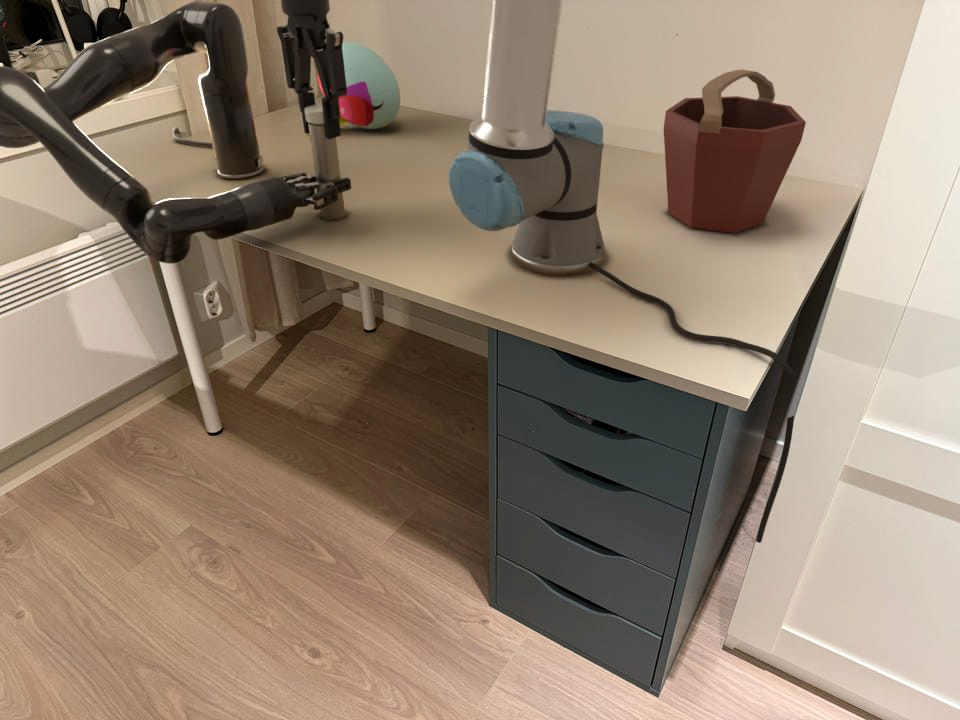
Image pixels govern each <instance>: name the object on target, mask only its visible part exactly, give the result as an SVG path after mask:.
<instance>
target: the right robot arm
mask: <svg viewBox="0 0 960 720" xmlns="http://www.w3.org/2000/svg"><path fill="white" fill-rule="evenodd" d="M563 2H564V0H491V4H490V5H491V6H490V18H489V28H488V40H487V49H486V50H487V51H486V60H485V61H486V62H485V63H486V64H485V72H484V83H483V84H484V85H483V98H482V109H481V111H482V114H481V113H480V115H478V116H477V117H476V118H475V119H473V121H471V122H470V124H469V129H468V139H467V140H468V141H467V150H465V151H462V152H460V153H459V155H457V156H456V158H455V159H453V161H452V162H451V164H450V167H449V172H448V184H449V190H450V193H451V196H452V199H453V201H454V203H455V204H456V206H457V207H458V208H459V210H460V212H461V214H462V215H463V216H464V218H465V219H466V220H468V221H469V222H470V223H471V224H472V225H473V226H475V227H477V228H479V229H481V230H483V231H487V232H499V231H502V230H506V229H508V228H514V227H516V226H517V229H516V232H515V234H514V237H513V240H512V243H511V244H512V245H511V257H512V259H513V261H514V262H515V263H516V264H517V265H519V267H521V268H524V269H526V270H528V271H530V272H532V273H533V272H534V273H537V274H541V275H547V276H558V277H559V276H560V277H561V276H573V275H574V276H575V275H580V274H584V273H588V272H590V271H593V270H594V271H596V272H597V273H598V274H600V275H602V276H604V277H605V278H607V279H609V280H610V281H612V282H613V283H615V284H616V285H618V286H619V287H620V288H622V289H624V290H625V291H627V292H629V293H631V294H632V295H635V296H637V297H639V298H642V299H645V300H648V301H650V302H652V303H656V304H657V305H659V306H661V307H662V308H663V309H664V310H665V311H666V312H667V313H668V316H669V321H670V324H671V326H672V328H673V330H674V331H676V332H677V333H678V334H680V335H682V336H684V337H686V338H689V339H693V340H697V341H703V342H711V343H722V344H729V345H733V346H736V347H739V348H743V349H745V350H748V351H752V352H756V353H760V354H762V355H764V356H767V357H769V358H771V359H772V360H774V361H775V362H776V363H777V364H778V365H779V366H780V367H781V368H782V370H783V371H784V373H785V374H786V376H787V377H788V378H790V379H796V374H795V373H794V371H793V369H792V368H791V366H790V365H789V363H788V362H787V361H786V360H785V359H784V358H783V357H782V356H781V355H779V354H778V353H776V351H775V352H774V351H773V350H771V349H769V348H765V347H763V346H760V345H756V344H752V343H750V342H745V341H742V340H741V339H736V338H732V337H728V336H719V335H718V336H717V335H708V334H707V335H706V334H699V333H695V332H692V331H689V330H686V329H685V328H683V327H682V326H681V325H679V322H678V321H677V318H676V313H675V310H674V309H673V307H672V306H671V304H669V303H668V302H667V301H665V300H663V299H661V298H659V297H657V296H655V295H652V294H649V293H646V292H644V291H642V290H639V289H636V288H634V287H632V286H631V285H628V284H627V283H626V282H624V281H623V280H622V279H620V278H618V277H617V276H615V275H613V274H612V273H611V272H609V271H607V270H606V269H604V268H602V267H601V266H600V265H601V264H602V263H603V261H604V258H605V249H606V247H605V242H604V239H603V233H602V230H601V226H600V222H599V218H598V213H597V212H598V199H599V188H600V179H601V171H602V170H601V169H602V161H603V160H602V159H603V148H604V147H605V143H604V126H603V123H602V122H601V121H600V120H599V119H598V118H596V117H594V116H591V115H589V114H585V113H584V114H583V113H580V112H574V111H566V110H553V109H549V110H548V105H549V98H550V93H551V86H552V79H553V73H554V72H553V71H554V65H555V64H554V63H555V58H556V52H557V43H558V37H559V31H560V23H561V17H562V10H563ZM280 4H281V12H282V13H283V14H284V15H286V16H287V22H286V24H285V25H280V26H277V27H276V32H277V36H278V38H279V41H280V45H281V46H280V47H281V52H282V59H283V66H284V73H285V80H286V86H287V88H288V89H289V90H291V89H292V90H294V92H295V94H296V95H297V101H298V106H299V111H300V112H301V116H302V124H303V130H304V134H307V135H308V134H309V135H310V133H309V126H308V123H309V122H307V121H306V118H305V108H306V107H308V106H311V105H317V104H316V97H315V92H314V91H313V90H314V88H313V87H312V86H311V75H312V74H311V71H312V70H311V69H312V59H313V60H314V61H313V62H314V64H315V68H316V72H317V76H318V75H319V79H320V82H321V86H322V89H323V92H324V95H323V97H321V104H322V107H323V115H324V122H325V130H326V138H327V139H332V138H335V137H336V138H338V137H342V133H341V126H340V123H339V118H340V108H339V97H341V96H344V95H346V94H347V86H346V77H345V69H344V60H343V51H342V44H343V42H344V34H343V32H342V31H335V30H333V29H331V27H330V23H329V21H328V19H327V15H328V13H329V12H330V11H331V7H330V0H280ZM330 90H331V92H330ZM312 91H313V92H312ZM324 96H325V97H324ZM794 423H795V415H792V416H789V417H787V418H786V427H785V433H784V434H785V435H784V442H783V446H782V452H781V456H780V460H779V464H778V467H777V471H776V475H775V478H774V480H773V484H772V487H771V489H770V490H771V491H770V492H769V495H768V498H767V502H766V505H765V507H764V511H763V514H762V516H761V520H760V523H759V527H758V530H757V535H756V538H755V542H756V543H759V544H760V543H762V541H763V538H764V533H765V531H766V528H767V524H768V521H769V517H770V514H771V511H772V509H773V506H774V503H775V500H776V497H777V495H778V491H779V488H780V485H781V482H782V480H783V477H784V473H785V469H786V465H787V461H788V458H789V453H790V449H791V444H792V439H793V430H794Z"/></svg>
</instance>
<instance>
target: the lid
mask: <svg viewBox="0 0 960 720" xmlns="http://www.w3.org/2000/svg"><path fill="white" fill-rule="evenodd" d="M305 118H306V121H307V122H309V123H314V124H322V123H325V122H324V115H323V107H322V103H320V104H318V103H317V104H316V105H311V106H308V107H306V108H305Z"/></svg>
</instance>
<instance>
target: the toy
mask: <svg viewBox="0 0 960 720" xmlns="http://www.w3.org/2000/svg"><path fill="white" fill-rule="evenodd" d="M342 51H343V60H344V69H345V77H346V86H347V94H346V95H344V96H341V97H339V108H340V118H339V123H340V127H342V126H345V125H347V124H351V125H353V126H356V127H358V128H361V129H366V130H378V129H382V128H384V127H386V126H388V125H390V124H391V123H392V122H393V121H394V120H395V118H396V117H397V115H398V113H399V111H400V107H401V91H400V86H399V84H398V80H397V78H396V76H395V74H394V72H393V71H392V69H391V67H390V66H389V65H388V64H387V62H386V61H385V60H384V59H383V58H382V57H381V56H380V55H379V54H378V53H376V52H375V51H374V50H372V49H370V48H369V47H367V46H365V45H362V44H360V43H357V42H353V41H352V42H351V41H343V44H342ZM317 81H318V85H319V88H320V91H321V93H322V95H323V97H325V96H324V92H323V89H322V86H321V82H320V79H319V75H318V74H317ZM330 92H331V90H330Z"/></svg>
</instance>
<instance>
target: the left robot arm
mask: <svg viewBox="0 0 960 720" xmlns="http://www.w3.org/2000/svg"><path fill="white" fill-rule="evenodd" d="M239 17H240V16H239V15H238V14H237V12H236V11H235V10H234V8H233V7H231V6H229V5H228V4H225V3H220V2H212V1H198V0H197V1H196V0H195V1H191V2H188V3H185V4H184V5H182V6H180V7H178V8H176V9H175V10H173V11H171V12H169V13H167V14H166V15H165V16H163V17H161V18H159V19H157V20H155V21H153V22H151V23H148V24H143V25H141V26H137V27H134V28H131V29H128V30H125V31H123V32H120V33H117V34H113V35H111V36H108V37H106V38H104V39H101V40H99V41H95V42H94V43H92V44H89V45H88V46H86V47H85V48H84V49H83V50H81V52H79V53H78V54H77V55H76V57H74V58H73V60H72V61H71V62H70V63H68V65H67V66H66V67H65V68H64V69H63V71H62V72H61V73H60V74H59V75H58V76H57V78H55V80H53V81H52V82H51V83H49V84H48V85H47V86H44V87H41V86H40V85H39V83H37V82H36V80H34V79H33V78H32V77H30V75H28V74H26V73H25V72H24V71H21V70H19V69H16V68H13V67H9V66H3V65H0V147H1V148H7V149H22V148H27V147H30V146H34V145H36V144H38V143H40V144H41V145H42V146H43V147H44V148H45V149H46V150H47V151H48V152H49V154H50V155H51V157H53V159H54V160H55V162H56V163H57V164H58V166H60V168H61V169H62V170H63V172H64V173H65V175H66V176H67V177H68V178H69V179H70V181H71V182H72V183H73V184H74V186H75V187H77V189H79V191H80V192H81V193H83V194H84V195H85V196H86V197H87V198H88V199H89V200H91V201H92V202H93V204H95V205H96V206H98V207H99V208H100V209H102V210H103V211H104V212H106V213H107V214H108V215H110V217H112V218H113V219H114V220H115V221H116V222H117V223H118V225H119V226H120V227H121V228H122V230H123V231H124V232H125V233H126V234H127V236H128V237H129V238H130V239H131V241H132V242H134V244H135V245H136V246H137V247H138V249H140V250H141V251H142V253H144V254H145V255H147V256H148V257H149V258H150V259H152V260H155V261H157V262H159V263H162V264H177V263H180V262H182V261H183V260H185V258H186V257H187V256H188V254H189V252H190V249H191V242H192V235H194V234H197V233H204V234H205V235H206V237H208V238H209V239H210V240H216V241H217V240H223V239H227V238H230V237H232V236H236V235H238V234H242V233H245V232H250V231H256V230H259V229H263V228H266V227H268V226H271V225H274V224H277V223H278V224H279V223H280V222H284V221H287V220H289V219H292V217H293V216H294V214H295V211H296V209H297V208H305V207H309V205H310V206H313V209H314V210H315V211H321V210H320V209H322V208H324V207H326V206H328V205H330V204H332V203H334V202H335V201H337V200H338V193H341V192H343V193H345V192H347V191H350V190H351V189H352V183H351V181H352V180H351V179H350V178H349V177H347V176H346V177H343V178H342V177H341V179H339V180H336V181H332V182H329V183H323V184H320V183H319V182H316V175H315V173H314V174H313V173H311V174H307V172H300V173H294V174H289V175H284V176H272V177H268V178H265V179H262V180H257V181H254V182H252V183H251V182H250V183H247V184H244V185H241V186H238V187H236V188H233V189H231V190H228V191H225V192H222V193H218V194H215V195H211V196H208V197H182V198H181V197H179V198H177V197H174V198H167V199H163V200H160V201H157V202H155V203H154V204H153V202H152V198H151V194H150V192H149V190H148V188H147V187H146V186H145V185H144V184H143V183H142V182H141V181H139V180H138V179H137V178H136V177H135V176H133V175H132V174H131V173H130V172H128V171H127V170H126V169H125V168H124V167H122V166H121V165H120V164H118V163H117V162H116V161H115V160H114V159H112V158H111V157H110V156H109V155H108V154H106V153H105V152H104V151H103V150H102V149H101V148H100V147H99V146H97V145H96V144H95V142H93V140H91V139H90V137H88V136H87V135H86V134H85V133H84V132H83V131H82V130H81V129H80V128H79V127H78V125H76V124H75V122H74V121H76V120H78V119H80V118H82V117H83V116H85V115H87V114H89V113H92V112H94V111H96V110H97V109H100V108H101V107H104V106H105V105H108V104H109V103H111V102H113V101H116V100H118V99H121V98H123V97H126V96H128V95H131V94H133V93H135V92H137V91H139V90H141V89H144V88H145V87H147V86H149V85H150V84H151V83H153V82H155V80H157V79H158V77H160V75H161V74H162V72H163V70H164V69H165V68H166V66H167V65H168V64H170V63H171V62H173V61H175V60H178V59H181V58H183V57H186V56H190V55H193V54H207V58H208V66H209V68H208V70H207V71H206V72H204V73H202V74H200V75H199V77H198V85H199V91H200V94H201V99H202V104H203V108H204V112H205V116H206V117H205V118H206V122H207V126H208V131H209V135H210V140H211V142H210V141H209V142H207V141H198V140H194V139H187V138H181V137H178V136H177V134H178V133H180V130H179V128H178V127H176V126H175V127H174V128H172V131H171V136H172V139H174V141H176V142H179V143H183V144H184V143H185V144H191V145H195V146H203V147H212V148H213V152H214V158H215V162H216V167H217V174H218V176H219V177H221V178H223V179H224V178H225V179H229V180H231V179H232V180H234V179H236V180H237V179H238V180H239V179H246V178H252V177H254V176H257V175H260V174H261V173H262V172H263V171H264V165H263V163H264V161H265V160H264V157H263V156H264V155H261V151H260V146H259V141H258V135H257V131H256V125H255V120H254V114H253V109H252V103H251V97H250V93H249V92H250V91H249V87H248V82H247V81H248V75H249V65H248V64H249V63H248V56H247V49H246V41H245V34H244V29H243V25H242V22H241V20H240V18H239ZM323 188H326V189H324V190H322V189H323Z"/></svg>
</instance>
